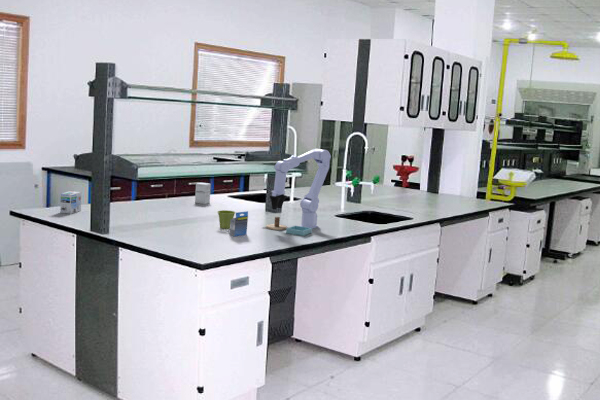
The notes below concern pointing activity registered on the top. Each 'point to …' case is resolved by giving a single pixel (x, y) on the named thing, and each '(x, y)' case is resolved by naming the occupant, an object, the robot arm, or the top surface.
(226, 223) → the plant pot
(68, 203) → the light bulb box
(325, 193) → the top surface
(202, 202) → the supplement box
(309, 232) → the dish
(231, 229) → the label tape box
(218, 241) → the top surface
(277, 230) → the mat
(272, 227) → the lid
